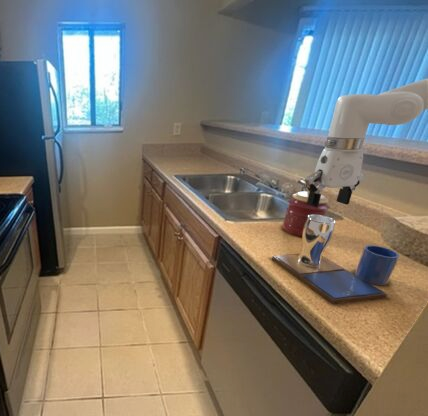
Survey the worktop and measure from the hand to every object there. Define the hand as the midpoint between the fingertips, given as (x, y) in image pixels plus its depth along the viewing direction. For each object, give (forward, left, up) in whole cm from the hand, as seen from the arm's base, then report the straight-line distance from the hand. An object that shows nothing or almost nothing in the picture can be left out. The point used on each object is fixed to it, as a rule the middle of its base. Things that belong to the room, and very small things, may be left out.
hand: (327, 204), depth 79 cm
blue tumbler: (-13, +8, -21) cm, 26 cm away
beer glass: (0, 0, -20) cm, 20 cm away
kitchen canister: (-18, -23, -21) cm, 36 cm away
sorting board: (0, +5, -21) cm, 22 cm away
